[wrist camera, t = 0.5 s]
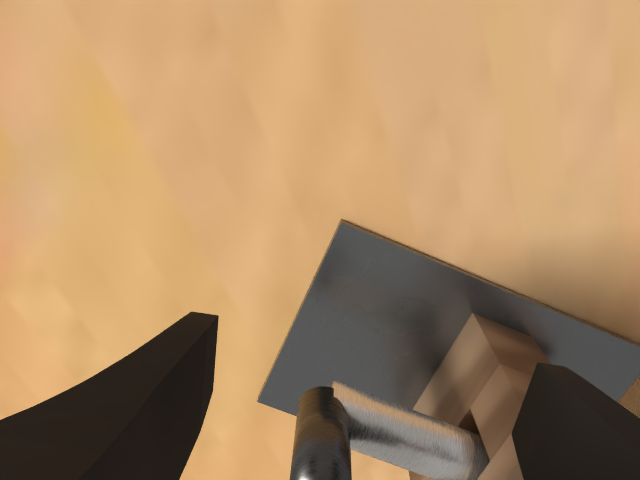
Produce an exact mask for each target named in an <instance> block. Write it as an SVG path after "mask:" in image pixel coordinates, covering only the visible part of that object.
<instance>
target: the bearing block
mask: <svg viewBox="0 0 640 480" xmlns="http://www.w3.org/2000/svg"><path fill="white" fill-rule="evenodd" d="M537 362H539V363H546V364H551V363H550V362H549V361H548V359H547V358H546V356H545V355H544V353H543V352H542V351H541V349H540V348H539V346H538V345H537V343H536V342H535V341H534V339H533V338H532V337H531V336H529V335H526V334H524V333H521V332H519V331H516V330H514V329H512V328H509V327H507V326H504V325H502V324H499V323H497V322H494V321H492V320H489V319H487V318H485V317H482V316H480V315H477V314H475V313H472V314H471V316H470V318H469V319H468V321H467V322H466V324H465V326H464V327H463V329H462V330H461V332H460V334H459V335H458V337H457V339H456V340H455V342H454V343H453V345H452V347H451V348H450V350H449V351H448V353H447V355H446V356H445V358H444V360H443V361H442V363H441V364H440V366H439V368H438V369H437V371H436V372H435V374H434V376H433V377H432V379H431V381H430V382H429V384H428V385H427V387H426V389H425V390H424V392H423V393H422V395H421V397H420V398H419V400H418V402H417V403H416V405H415V406H414V408H413V410H415V411H417V412H420V413H423V414H425V415H428V416H431V417H433V418H436V419H438V420H441V421H444V422H446V423H449V424H452V425H454V426H457V427H460V428H462V429H465V430H468V431H470V432H473V433H476V434H478V435H481V438H482V440H483V443H484V446H485V448H486V451H487V454H488V456H489V459H490V463H489V464H488V465H487V467H486V468H485V470H484V471H483V472H482V474H481V475H480V476H479V478H478V479H477V480H524V479H523V476H522V472H521V469H520V465H519V462H518V459H517V455H516V451H515V447H514V443H513V439H512V435H511V433H512V430H513V428H514V425H515V422H516V419H517V417H518V414H519V411H520V408H521V406H522V403H523V400H524V397H525V395H526V392H527V389H528V386H529V384H530V381H531V378H532V375H533V373H534V370H535V367H536V364H537ZM409 475H410V480H434V479H431V478H428V477H426V476H423V475H420V474H417V473H415V472H412V471H409Z"/></svg>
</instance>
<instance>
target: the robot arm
mask: <svg viewBox="0 0 640 480" xmlns="http://www.w3.org/2000/svg"><path fill="white" fill-rule="evenodd" d="M217 330H218V315H211V314H204V313H197V312H190V313H189V314H187V315H186V316H184V317H183V318H181V319H180V320H179V321H177V322H176V323H174V324H173V325H171V326H170V327H169V328H167V329H166V330H164V331H163V332H162V333H160V334H159V335H157V336H156V337H154V338H153V339H152V340H150V341H149V342H147V343H146V344H144V345H143V346H141V347H140V348H138V349H137V350H135V351H134V352H132V353H131V354H129V355H128V356H126V357H124V358H123V359H121V360H119V361H118V362H116V363H114V364H113V365H111V366H109V367H108V368H106V369H104V370H103V371H101V372H99V373H98V374H96V375H94V376H93V377H91V378H89V379H87V380H86V381H84V382H82V383H80V384H78V385H76V386H74V387H72V388H70V389H69V390H67V391H64V392H62V393H60V394H58V395H56V396H54V397H52V398H50V399H48V400H46V401H44V402H42V403H40V404H37V405H35V406H33V407H31V408H28V409H26V410H24V411H21V412H19V413H16V414H14V415H11V416H9V417H6V418H4V419H2V420H0V480H179V479H180V477H181V474H182V472H183V470H184V468H185V465H186V463H187V461H188V459H189V456H190V454H191V452H192V449H193V447H194V445H195V443H196V440H197V438H198V436H199V433H200V431H201V428H202V425H203V422H204V418H205V415H206V412H207V409H208V405H209V402H210V399H211V395H212V392H213V383H214V369H215V356H216V343H217ZM511 435H512V439H513V443H514V447H515V451H516V455H517V459H518V462H519V465H520V469H521V472H522V476H523V479H524V480H640V419H639V418H638V417H637V416H635V415H634V414H632V413H631V412H630V411H628V410H627V409H626V408H624V407H623V406H622V405H620V404H619V403H617V402H616V401H615V400H613V399H612V398H611V397H609V396H608V395H606V394H605V393H604V392H602V391H601V390H600V389H598V388H597V387H595V386H594V385H593V384H591V383H590V382H588V381H587V380H585V379H584V378H582V377H581V376H580V375H578V374H576V373H575V372H573V371H572V370H570V369H568V368H567V367H565V366H560V365H553V364H546V363H539V362H537V364H536V367H535V370H534V373H533V375H532V378H531V381H530V384H529V386H528V389H527V392H526V395H525V397H524V400H523V403H522V406H521V408H520V411H519V414H518V417H517V419H516V422H515V425H514V428H513V430H512V433H511Z"/></svg>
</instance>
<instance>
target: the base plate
mask: <svg viewBox="0 0 640 480" xmlns="http://www.w3.org/2000/svg"><path fill="white" fill-rule="evenodd" d="M472 313H475V314H477V315H480V316H482V317H485V318H487V319H489V320H492V321H494V322H497V323H499V324H502V325H504V326H507V327H509V328H512V329H514V330H516V331H519V332H521V333H524V334H526V335H529V336H531V337H532V338H533V339H534V341H535V342H536V343H537V345H538V346H539V348H540V349H541V351H542V352H543V353H544V355H545V356H546V358H547V359H548V361H549V362H550V363H551V364H553V365H560V366H565V367H567V368H568V369H570V370H572V371H573V372H575V373H576V374H578V375H580V376H581V377H582V378H584V379H585V380H587V381H588V382H590V383H591V384H593V385H594V386H595V387H597V388H598V389H600V390H601V391H602V392H604V393H605V394H606V395H608V396H609V397H611V398H612V399H613V400H615V401H616V402H618V401H619V400H620V399H621V397H622V396H623V395H624V394H625V392H626V391H627V390H628V389H629V387H630V386H631V385H632V384H633V382H634V381H635V380H636V379H637V377H638V376H639V375H640V344H638V343H635V342H633V341H631V340H628V339H626V338H623V337H621V336H619V335H616V334H614V333H611V332H609V331H607V330H604V329H602V328H600V327H597V326H595V325H592V324H590V323H588V322H585V321H583V320H580V319H578V318H576V317H573V316H571V315H568V314H566V313H564V312H561V311H559V310H557V309H554V308H552V307H549V306H547V305H545V304H542V303H540V302H537V301H535V300H533V299H530V298H528V297H525V296H523V295H521V294H518V293H516V292H514V291H511V290H509V289H506V288H504V287H502V286H499V285H497V284H494V283H492V282H490V281H487V280H485V279H482V278H480V277H478V276H475V275H473V274H471V273H468V272H466V271H463V270H461V269H459V268H456V267H454V266H451V265H449V264H447V263H444V262H442V261H439V260H437V259H435V258H432V257H430V256H428V255H425V254H423V253H420V252H418V251H416V250H413V249H411V248H408V247H406V246H404V245H401V244H399V243H396V242H394V241H392V240H389V239H387V238H385V237H382V236H380V235H377V234H375V233H373V232H370V231H368V230H365V229H363V228H361V227H358V226H356V225H353V224H351V223H349V222H346V221H344V220H342V219H341V221H340V223H339V225H338V227H337V229H336V231H335V234H334V236H333V238H332V240H331V242H330V244H329V246H328V249H327V251H326V253H325V255H324V257H323V259H322V261H321V264H320V266H319V268H318V270H317V272H316V274H315V276H314V278H313V281H312V283H311V285H310V287H309V289H308V291H307V293H306V296H305V298H304V300H303V302H302V304H301V306H300V308H299V311H298V313H297V315H296V317H295V319H294V321H293V323H292V326H291V328H290V330H289V332H288V334H287V336H286V338H285V341H284V343H283V345H282V347H281V349H280V351H279V353H278V356H277V358H276V360H275V362H274V364H273V366H272V368H271V371H270V373H269V375H268V377H267V379H266V381H265V383H264V385H263V388H262V390H261V392H260V394H259V396H258V400H257V402H259V403H262V404H265V405H268V406H270V407H273V408H276V409H279V410H281V411H284V412H287V413H289V414H292V415H295V416H297V412H298V403H299V400H300V398H301V396H302V395H303V394H304V393H305V392H306V391H308V390H309V389H312V388H314V387H319V386H326V385H327V384H328V382H329V381H330V380H335V381H338V382H341V383H343V384H346V385H348V386H351V387H354V388H356V389H359V390H362V391H364V392H367V393H370V394H372V395H375V396H378V397H380V398H383V399H386V400H388V401H391V402H393V403H396V404H399V405H401V406H404V407H407V408H409V409H412V410H413V408H414V406H415V405H416V403H417V402H418V400H419V398H420V397H421V395H422V393H423V392H424V390H425V389H426V387H427V385H428V384H429V382H430V381H431V379H432V377H433V376H434V374H435V372H436V371H437V369H438V368H439V366H440V364H441V363H442V361H443V360H444V358H445V356H446V355H447V353H448V351H449V350H450V348H451V347H452V345H453V343H454V342H455V340H456V339H457V337H458V335H459V334H460V332H461V330H462V329H463V327H464V326H465V324H466V322H467V321H468V319H469V318H470V316H471V314H472Z"/></svg>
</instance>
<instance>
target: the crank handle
mask: <svg viewBox="0 0 640 480" xmlns="http://www.w3.org/2000/svg"><path fill="white" fill-rule="evenodd" d="M351 450H354V451H357V452H359V453H362V454H365V455H368V456H370V457H373V458H376V459H379V460H381V461H384V462H387V463H390V464H392V465H395V466H398V467H401V468H404V469H406V470H409V471H412V472H415V473H417V474H420V475H423V476H426V477H428V478H431V479H434V480H477V479H478V478H479V476H480V475H481V474H482V472H483V471H484V470H485V468H486V467H487V465H488V464H489V463H490V459H489V456H488V454H487V451H486V448H485V446H484V443H483V440H482V438H481V435H478V434H476V433H473V432H470V431H468V430H465V429H462V428H460V427H457V426H454V425H452V424H449V423H446V422H444V421H441V420H438V419H436V418H433V417H431V416H428V415H425V414H423V413H420V412H417V411H415V410H412V409H409V408H407V407H404V406H401V405H399V404H396V403H393V402H391V401H388V400H386V399H383V398H380V397H378V396H375V395H372V394H370V393H367V392H364V391H362V390H359V389H356V388H354V387H351V386H348V385H346V384H343V383H341V382H338V381H335V380H330V381H329V382H328V384H327V385H326V386H319V387H314V388H312V389H309V390H308V391H306V392H305V393H304V394H303V395H302V396H301V398H300V400H299V403H298V412H297V420H296V429H295V438H294V447H293V456H292V465H291V474H290V480H352V478H351Z"/></svg>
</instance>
